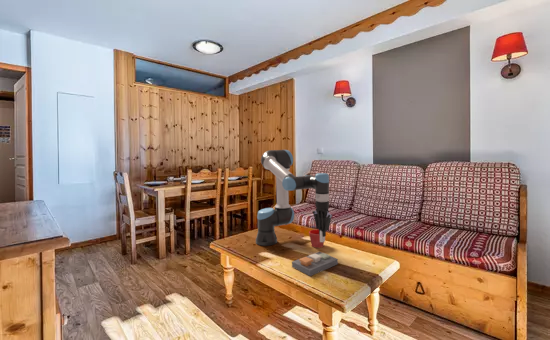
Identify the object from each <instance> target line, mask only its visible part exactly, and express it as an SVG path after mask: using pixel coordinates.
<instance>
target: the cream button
mask: <svg viewBox="0 0 550 340" xmlns="http://www.w3.org/2000/svg"><path fill="white" fill-rule="evenodd" d="M307 256H308V258H310V259H313V262H314V263H316V262H319V261H320V258H322V256H320V255H318V254H314V253H312V254H309V255H307Z"/></svg>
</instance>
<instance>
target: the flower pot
mask: <svg viewBox="0 0 550 340" xmlns="http://www.w3.org/2000/svg"><path fill="white" fill-rule="evenodd" d="M308 234H309V239H310V244H311V247H312V248H316V249H317V248H319V249H320V248H323V247H324V243H325V242H320V235H319V229H311V230H309V231H308Z"/></svg>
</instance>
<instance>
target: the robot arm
mask: <svg viewBox="0 0 550 340" xmlns="http://www.w3.org/2000/svg"><path fill="white" fill-rule="evenodd" d="M260 163H261V165H262V167H263V168H264V169H265V170H268V171H270V172H271V173H272V174H273V175H274V176H275V178H276V179H275V181H276V183H275V184H276V186H275V187H276V204H275V206H274V208H273V207H265V208H262V209H260V210H258V211H257V217H256V218H257V234H256V237H255V244H256V245H257V246H265V247H267V246H274V245H276V244H277V243H278V236H277V235H276V232H275V227H279V226H287V225H290V224H291V223H292V222H294V220H295V212H294V209H293V208H292V206H291V205H290V204H289V203H290V202H289V201H290V197H289V192H290V191H298V190H306V189H307V190H308V189H313V190H315V208H316V209H315V210H314V211H312V215H313V217H314V222H315V227H316V228H315V229H317V230H319V235H320V242H324V243H325V242H326V236H327V232H326V231H329V230H330V225H331V220H332V219H333V218H332V217H333V214H332V213H330V211H329V208H330V201H329V200H330V174H328V173H325V172H317V173H315V175H312V174H305V175H304V176H303V175H300V176H295V175H294V174H293V173H292V172H291V171H290V169H291V167H292V166H293V163H294V156H293V154H292V152H291V151H290V150H288V149H271V150H270V149H269V150H266V151H265V152H263V153H262V155H261V158H260Z"/></svg>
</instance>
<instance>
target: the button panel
mask: <svg viewBox="0 0 550 340" xmlns="http://www.w3.org/2000/svg"><path fill="white" fill-rule="evenodd" d="M321 253H323V252H321V251H317V252H315V253H313V254H321ZM308 256H309V255H306V256H304V257H308ZM304 257H302V258H304ZM299 259H300V258H298V259H296V260H293V261H291V268H294V269H296V271H297V270H298V271H299V272H302V273H303V274H305V275H307V276H309V277H311V276H312V277H313V276H314V275H316V274H319V273H321V272H323V271H326V270H329V269H330V268H332V267H335V266H337V265H338V264H339V259H338V258H336V257H334V256H331V255H330V257H329V258H327V259H322V258H320V261H319V262H316V263H314V262H311V265H309V266H304V265H302V264H301V262H300V261H299Z"/></svg>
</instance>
